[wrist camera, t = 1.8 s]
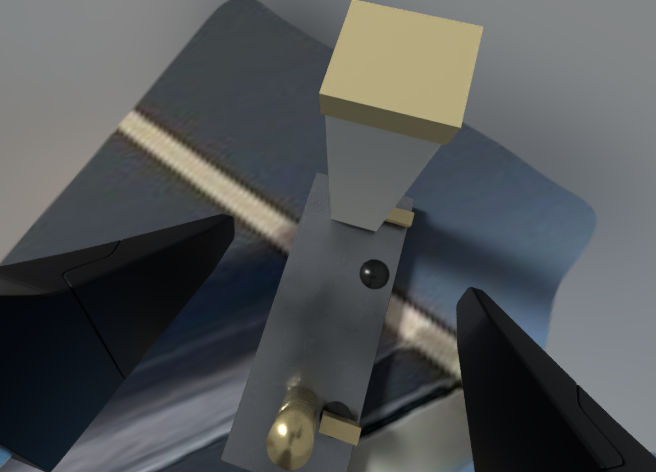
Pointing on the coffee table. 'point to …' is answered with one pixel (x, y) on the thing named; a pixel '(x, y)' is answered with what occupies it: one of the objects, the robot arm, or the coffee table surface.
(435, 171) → the coffee table surface
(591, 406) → the robot arm
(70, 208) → the coffee table surface
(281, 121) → the coffee table surface
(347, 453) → the plate
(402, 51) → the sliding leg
